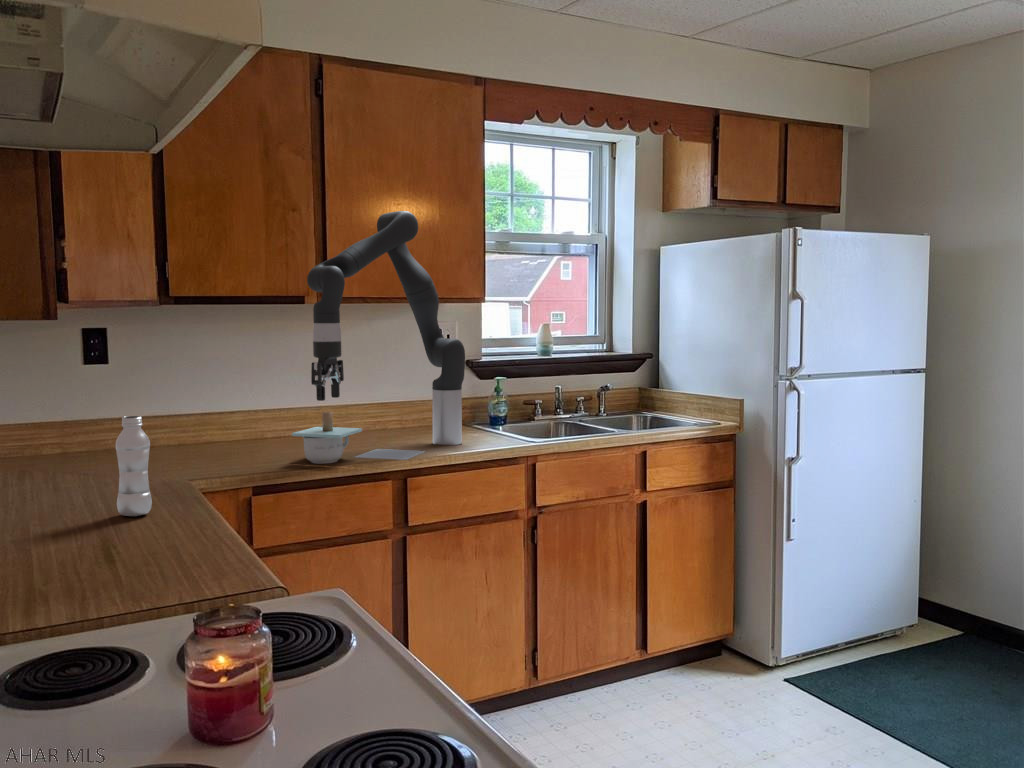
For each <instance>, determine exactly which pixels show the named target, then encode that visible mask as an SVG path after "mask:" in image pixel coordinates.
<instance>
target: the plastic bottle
mask: <svg viewBox="0 0 1024 768" xmlns="http://www.w3.org/2000/svg"><path fill="white" fill-rule="evenodd" d="M142 419H143V417H142V416H141V415H127V416H122V417H121V427H123V429H122V430H121V432H120V433H119V435H118V436H117V438H116V439H115V440H116V441H115V451H116V453H115V454H116V457H117V464H118V470H119V472H118V474H119V480H118V482H119V483H118V493H117V499H116V508H117V511H118V513H119V514H120V515H121V516H125V517H126V516H127V517H140V516H142V515H146V514H149V513H150V511H151V510H152V503H153V501H152V500H153V499H152V495H151V491H150V483H149V470H148V468H149V459H150V458H149V457H150V449H151V441H150V438H149V437H148V435H147V434H146V433H145V431H144V430H143V429H142V426H144V425H143V420H142Z"/></svg>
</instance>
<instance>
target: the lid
mask: <svg viewBox="0 0 1024 768" xmlns="http://www.w3.org/2000/svg"><path fill="white" fill-rule="evenodd" d="M321 415H322V417H321V418H322V419H321V420H322V423H321V424H322V426H313V427H310V428H307V429H302V430H299V431H294V432H292V433H291V437H302V438H303V437H324V438H342V437H343V438H344V437H345V436H351V435H355V434H359V433H361V432H363V428H361V427H358V428H357V427H356V428H355V427H339V426H338V427H335V426H334V416H333V415H334V412H333V411H323V412H322V413H321Z"/></svg>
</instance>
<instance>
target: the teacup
mask: <svg viewBox="0 0 1024 768" xmlns="http://www.w3.org/2000/svg"><path fill="white" fill-rule="evenodd" d="M349 436H350V435H348V436H345V437H342V438H324V437H302V438H303V450H304V455H305V458H306V460H308V461H309V463H311V464H319V465H320V464H321V465H322V464H324V465H325V464H333V463H337V462H338V461H339V460H340V459H341V458H342V457H343V453H344V450H345V448H346V447H347V446H348V445H349V443H350V437H349Z"/></svg>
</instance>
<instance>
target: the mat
mask: <svg viewBox="0 0 1024 768" xmlns="http://www.w3.org/2000/svg"><path fill="white" fill-rule="evenodd" d="M426 452H427V450H415V449H414V450H412V449H394V448H391V449H390V448H389V449H388V448H375V449H373V450H370V451H367V452H364V453H361V454H359V455H355V456H354V458H359V459H379V460H380V459H381V460H396V461H397V460H398V461H400V460H401V461H402V460H403V461H408V460H409V459H412V458H415V457H417V456H419V455H421V454H423V453H426Z"/></svg>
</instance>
